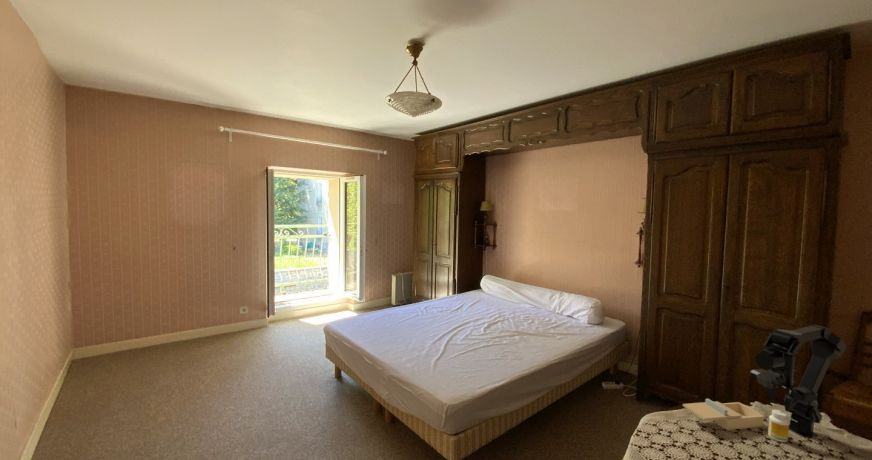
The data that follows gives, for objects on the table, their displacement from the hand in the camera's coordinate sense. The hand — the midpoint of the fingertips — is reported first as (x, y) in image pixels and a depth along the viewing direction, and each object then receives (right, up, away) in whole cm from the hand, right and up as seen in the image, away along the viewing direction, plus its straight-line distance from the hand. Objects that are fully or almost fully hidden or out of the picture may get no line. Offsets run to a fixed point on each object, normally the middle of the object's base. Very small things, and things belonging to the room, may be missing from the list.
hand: (779, 406), depth 132 cm
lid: (-18, -7, +9) cm, 21 cm away
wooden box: (-8, -11, +11) cm, 18 cm away
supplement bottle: (0, -12, +1) cm, 12 cm away
